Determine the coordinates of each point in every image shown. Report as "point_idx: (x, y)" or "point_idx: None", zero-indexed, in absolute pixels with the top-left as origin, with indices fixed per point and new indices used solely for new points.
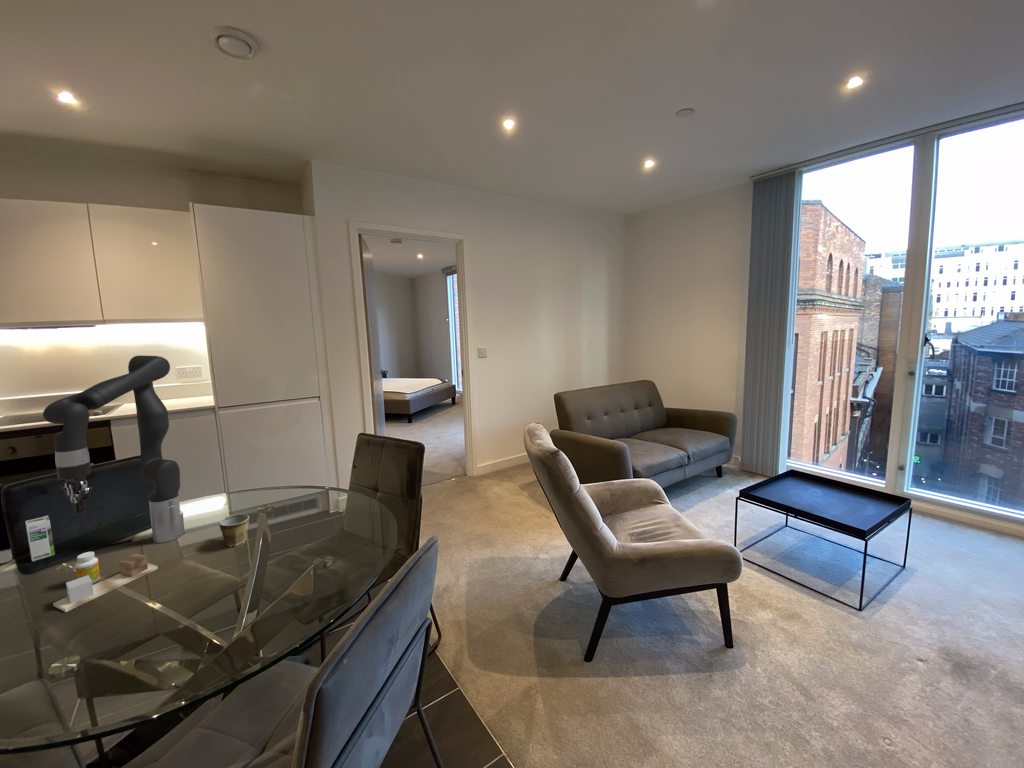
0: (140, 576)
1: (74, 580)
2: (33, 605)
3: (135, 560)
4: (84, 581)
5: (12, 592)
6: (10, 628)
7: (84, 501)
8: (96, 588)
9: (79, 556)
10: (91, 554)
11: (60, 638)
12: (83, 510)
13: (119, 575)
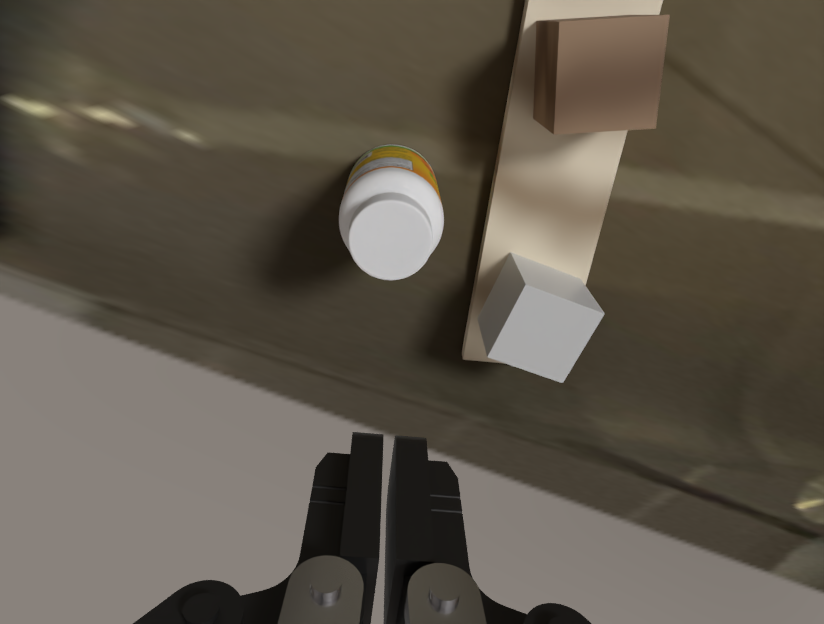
0: None
1: (508, 334)
2: (373, 369)
3: (652, 91)
4: (572, 327)
5: (158, 341)
6: (463, 458)
7: (430, 550)
8: (535, 241)
9: (376, 266)
10: (425, 228)
11: (701, 444)
12: (445, 476)
13: (532, 125)
